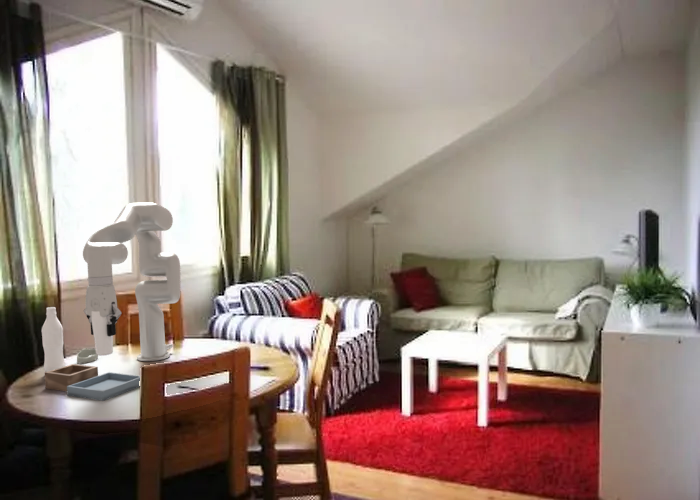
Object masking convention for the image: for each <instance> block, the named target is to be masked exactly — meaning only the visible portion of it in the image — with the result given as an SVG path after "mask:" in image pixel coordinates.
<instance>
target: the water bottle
mask: <svg viewBox="0 0 700 500" xmlns="http://www.w3.org/2000/svg"><path fill="white" fill-rule="evenodd" d="M45 315H46V318H45V321H44V323H43V325H42V326H41V336H42V337H41V339H42V347H43V352H44V363H43V370H44V373H45V372H48V371H51V370H55V369H58V368H61V367H65V366H66V362H65V358H64V344H65V343H64V328H63V324H61V321H60V320H59V318H58V317H57V310H56V307H55V306H50V307H49V306H48V307H46V313H45Z"/></svg>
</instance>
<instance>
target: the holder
mask: <svg viewBox="0 0 700 500" xmlns="http://www.w3.org/2000/svg"><path fill="white" fill-rule="evenodd" d="M98 368H99V367H98V366H93V365H86V364H85V365H84V364H79V363H78V364H77V363H72V364H69V365H65V367H61V368H58V369H55V370H51V371H48V372H45V371H44V382H45V383H44V385H45V386H44V387H45V389H48V390H54V391H62V392H67V386H69V385H72V384H75V383H78V382H81V381H84V380H87V379H90V378H93V377H96V376H99V369H98Z"/></svg>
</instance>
